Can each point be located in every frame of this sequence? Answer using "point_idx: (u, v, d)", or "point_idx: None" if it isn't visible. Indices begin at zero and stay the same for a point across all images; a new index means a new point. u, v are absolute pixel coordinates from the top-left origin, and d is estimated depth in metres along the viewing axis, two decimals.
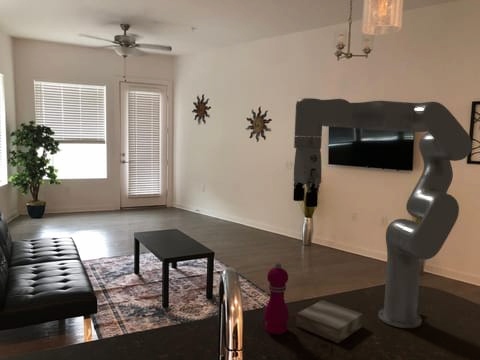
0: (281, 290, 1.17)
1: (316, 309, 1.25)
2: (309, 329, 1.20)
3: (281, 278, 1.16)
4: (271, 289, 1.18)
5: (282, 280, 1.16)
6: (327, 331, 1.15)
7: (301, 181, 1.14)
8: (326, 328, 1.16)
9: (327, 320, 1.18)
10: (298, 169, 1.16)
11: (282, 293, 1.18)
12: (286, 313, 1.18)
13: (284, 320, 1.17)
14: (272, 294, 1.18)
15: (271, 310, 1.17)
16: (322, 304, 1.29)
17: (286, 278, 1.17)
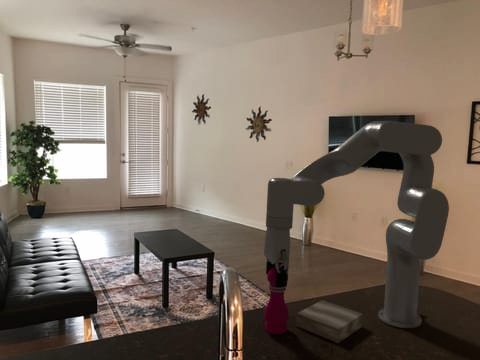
0: (281, 290, 1.17)
1: (316, 309, 1.25)
2: (309, 329, 1.20)
3: None
4: (271, 289, 1.18)
5: None
6: (327, 331, 1.15)
7: None
8: (326, 328, 1.16)
9: (327, 320, 1.18)
10: None
11: (282, 293, 1.18)
12: (286, 313, 1.18)
13: (284, 320, 1.17)
14: (272, 294, 1.18)
15: (271, 310, 1.17)
16: (322, 304, 1.29)
17: None
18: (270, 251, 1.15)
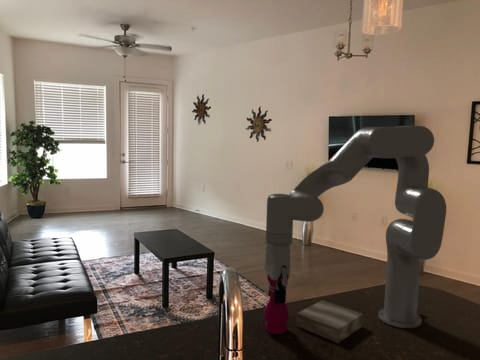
0: None
1: (316, 309, 1.25)
2: (309, 329, 1.20)
3: (281, 278, 1.16)
4: (271, 289, 1.18)
5: None
6: (327, 331, 1.15)
7: None
8: (326, 328, 1.16)
9: (327, 320, 1.18)
10: None
11: None
12: (286, 313, 1.18)
13: (284, 320, 1.17)
14: (272, 294, 1.18)
15: (271, 310, 1.17)
16: (322, 304, 1.29)
17: None
18: (270, 267, 1.16)
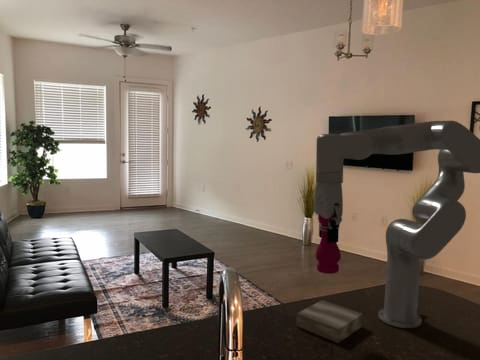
0: None
1: (316, 309, 1.25)
2: (309, 329, 1.20)
3: (333, 217, 1.16)
4: (323, 229, 1.18)
5: None
6: (327, 331, 1.15)
7: None
8: (326, 328, 1.16)
9: (327, 320, 1.18)
10: None
11: None
12: (338, 252, 1.18)
13: (337, 259, 1.18)
14: (324, 234, 1.18)
15: (324, 250, 1.18)
16: (322, 304, 1.29)
17: None
18: (322, 206, 1.16)
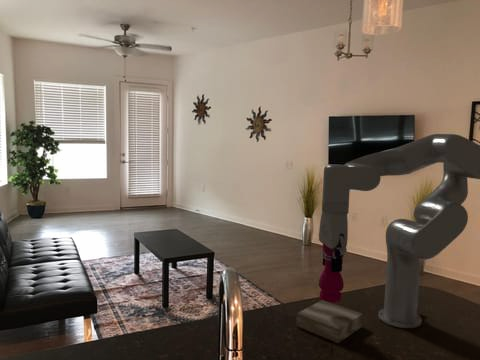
0: None
1: (316, 309, 1.25)
2: (309, 329, 1.20)
3: None
4: (327, 258, 1.19)
5: None
6: (327, 331, 1.15)
7: None
8: (326, 328, 1.16)
9: (327, 320, 1.18)
10: None
11: None
12: (342, 282, 1.20)
13: (340, 288, 1.19)
14: (328, 263, 1.20)
15: (327, 279, 1.19)
16: (322, 304, 1.29)
17: None
18: (327, 236, 1.17)
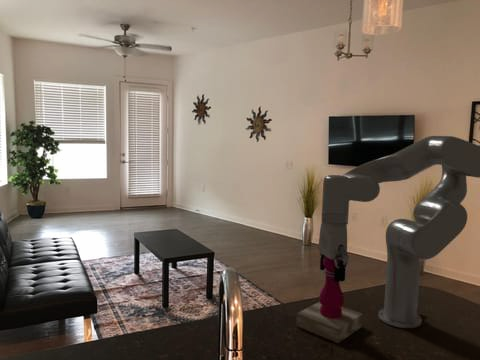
0: None
1: (316, 309, 1.25)
2: (309, 329, 1.20)
3: None
4: (328, 274, 1.20)
5: None
6: (327, 331, 1.15)
7: None
8: (326, 328, 1.16)
9: (327, 320, 1.18)
10: None
11: None
12: (342, 297, 1.20)
13: (341, 304, 1.19)
14: (328, 279, 1.20)
15: (328, 295, 1.19)
16: None
17: None
18: (327, 247, 1.18)
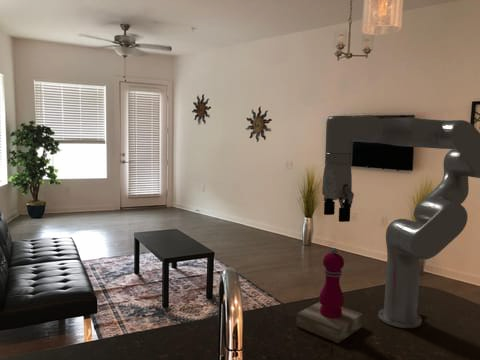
0: (338, 275, 1.19)
1: (316, 309, 1.25)
2: (309, 329, 1.20)
3: (338, 263, 1.18)
4: (328, 274, 1.20)
5: (340, 264, 1.18)
6: (327, 331, 1.15)
7: None
8: (326, 328, 1.16)
9: (327, 320, 1.18)
10: None
11: (338, 278, 1.20)
12: (342, 297, 1.20)
13: (341, 304, 1.19)
14: (328, 279, 1.20)
15: (328, 295, 1.19)
16: None
17: (343, 263, 1.19)
18: (331, 188, 1.17)
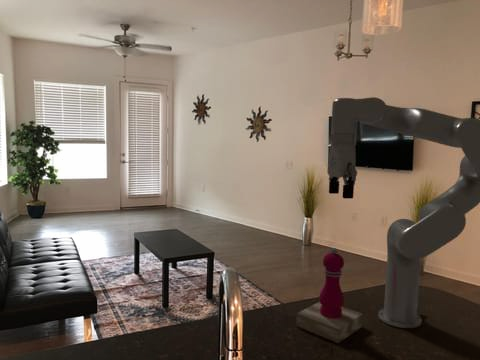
0: (338, 275, 1.19)
1: (316, 309, 1.25)
2: (309, 329, 1.20)
3: (338, 263, 1.18)
4: (328, 274, 1.20)
5: (340, 264, 1.18)
6: (327, 331, 1.15)
7: None
8: (326, 328, 1.16)
9: (327, 320, 1.18)
10: None
11: (338, 278, 1.20)
12: (342, 297, 1.20)
13: (341, 304, 1.19)
14: (328, 279, 1.20)
15: (328, 295, 1.19)
16: None
17: (342, 263, 1.19)
18: (336, 166, 1.23)
